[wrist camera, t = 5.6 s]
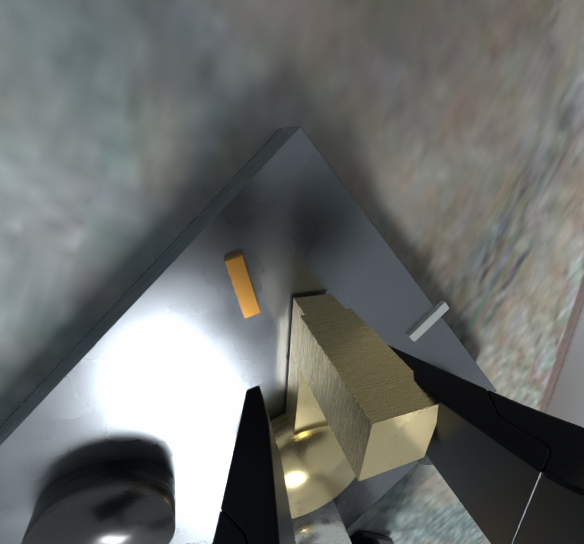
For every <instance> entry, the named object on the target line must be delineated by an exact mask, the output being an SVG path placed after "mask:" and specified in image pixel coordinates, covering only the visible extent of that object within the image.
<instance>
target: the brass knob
mask: <svg viewBox="0 0 584 544" xmlns="http://www.w3.org/2000/svg"><path fill="white" fill-rule="evenodd" d="M413 378H414V372H413V371H412V370H411V369H410V367H409V366H408V365H407V364H406V363H405V362H404V361H403V360H402V359H401V358H400V357H399V356H398V355H397V354H396V353H395V352H394V351H393V350H392V349H391V348H390V347H389V346H388V345H387V344H386V343H385V342H384V341H383V340H382V339H381V338H380V337H379V336H378V335H377V334H376V333H375V332H374V331H373V330H372V329H371V328H370V327H369V326H368V325H367V324H366V323H365V322H364V321H363V320H362V319H361V318H360V317H359V316H358V315H357V314H356V313H355V312H354V311H353V310H352V309H351V308H349V309H346V308H345V307H344V306H343V305H342V304H341V303H340V302H339V301H338V300H337V299H336V298H335V297H334V296H333V295H332V294H323V295H315V296H307V297H299V298H293V312H292V327H291V341H290V356H289V371H288V385H287V400H286V413H285V414H283V415H281V416H279V417H277V418H275V419H274V420H272V421H271V425H272V428H273V432H274V435H275V438H276V442H277V445H278V449H279V452H280V456H281V461H282V466H283V472H284V477H285V483H286V489H287V495H288V501H289V506H290V512H291V518H292V519H293V518H297V517H300V516H303V515H305V514H308V513H310V512H312V511H314V510H316V509H318V508H320V507H322V506H323V505H325V504H326V503H328V502H329V501H331V500H332V499H334V498H335V497H336V496H338V495H339V494H340V493H341V492H342V491H343V490H344V489H345V488H346V487H347V486H348V485H349V484H350V483H351V482H352V481H353V479H354V478H355V477H356V478H357V480H358V481H361V480H364V479H367V478H369V477H372V476H375V475H378V474H380V473H383V472H386V471H388V470H391V469H394V468H396V467H399V466H402V465H405V464H407V463H410V462H413V461H415V460H418V459H421V458H424V456H425V453H426V450H427V448H428V445H429V442H430V439H431V437H432V434H433V431H434V429H435V426H436V422H437V413H438V405H439V404H438V403H437V402H436V401H434V400H433V399H432V398H431V397H430V396H429V395H428V394H427V393H426V392H424V391H423V390H422V389H421V388H420V387H419V386H418V385H417V383H416V382H415V381H414V379H413Z"/></svg>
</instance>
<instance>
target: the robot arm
mask: <svg viewBox="0 0 584 544" xmlns="http://www.w3.org/2000/svg"><path fill="white" fill-rule="evenodd" d="M388 346H389V345H388ZM389 347H390V348H391V349H392V350H393V351H394V352H395V353H396V354H397V355H398V356H399V357H400V358H401V359H402V360H403V361H404V362H405V363H406V364H407V365H408V366H409V367H410V369H411V370H412V371H413V372H414V378H413V379H414V381H415V382H416V383H417V385H418V386H419V387H420V388H421V389H422V390H423V391H424V392H426V393H427V394H428V395H429V396H430V397H431V398H432V399H433V400H434V401H436V402H437V403H438V404H439V405H438V413H437V422H436V426H435V429H434V431H433V434H432V437H431V439H430V442H429V445H428V448H427V450H426V453H425V454H426V455H427V457H428V458H429V459H430V461H431V462H432V463H433V465H434V466H435V467H436V469H437V470H438V472H439V473H440V474H441V476H442V477H443V478H444V480H445V481H446V483H447V484H448V485H449V487H450V488H451V489H452V491H453V492H454V494H455V495H456V496H457V498H458V499H459V500H460V502H461V503H462V504H463V506H464V507H465V509H466V510H467V511H468V513H469V514H470V515H471V517H472V518H473V520H474V521H475V522H476V524H477V525H478V526H479V528H480V529H481V531H482V532H483V533H484V535H485V536H486V537H487V538H488V540H489V541H490V543H491V544H584V428H583V427H581V426H577V425H575V424H572V423H570V422H567V421H564V420H562V419H559V418H556V417H553V416H551V415H548V414H545V413H543V412H540V411H538V410H535V409H533V408H530V407H527V406H525V405H522V404H520V403H518V402H515V401H513V400H511V399H508V398H506V397H504V396H501V395H499V394H497V393H495V392H492V391H490V390H488V391H487V390H486V389H485V388H483V387H481V386H479V385H476V384H474V383H472V382H470V381H467V380H465V379H463V378H461V377H459V376H456V375H454V374H452V373H450V372H447V371H445V370H443V369H441V368H438V367H436V366H434V365H432V364H429V363H427V362H425V361H423V360H421V359H418V358H416V357H414V356H412V355H409V354H407V353H405V352H403V351H400V350H398V349H396V348H394V347H391V346H389ZM221 510H222V511H220V513H219V517H218V522H217V526H216V531H215V535H214V539H213V543H212V544H296V541H295V535H294V530H293V524H292V518H291V512H290V506H289V501H288V495H287V489H286V483H285V477H284V472H283V466H282V461H281V456H280V452H279V449H278V445H277V442H276V438H275V435H274V432H273V428H272V425H271V421H270V418H269V415H268V411H267V408H266V404H265V401H264V398H263V395H262V392H261V388H260V386H255V387H252V388H250V389H248V390H247V391H246V395H245V399H244V404H243V408H242V413H241V417H240V422H239V427H238V431H237V436H236V440H235V445H234V449H233V454H232V458H231V463H230V468H229V472H228V477H227V481H226V486H225V490H224V495H223V499H222V504H221ZM350 540H351V543H352V544H394V542H393V541H392V539H391V538H390V537H386V536H382V535H377V534H373V533H368V532H364V531H361V532H359V533H357V534H356V535H355V536H354V537H353V538H351V539H350Z"/></svg>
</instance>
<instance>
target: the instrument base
mask: <svg viewBox="0 0 584 544" xmlns="http://www.w3.org/2000/svg"><path fill="white" fill-rule="evenodd" d="M323 294H332V295H333V296H334V297H335V298H336V299H337V300H338V301H339V302H340V303H341V304H342V305H343V306H344V307H345V308H346V309H349V308H351V309H352V310H353V311H354V312H355V313H356V314H357V315H358V316H359V317H360V318H361V319H362V320H363V321H364V322H365V323H366V324H367V325H368V326H369V327H370V328H371V329H372V330H373V331H374V332H375V333H376V334H377V335H378V336H379V337H380V338H381V339H382V340H383V341H384V342H385V343H386V344H387V345H389V346H391V347H394V348H396V349H398V350H400V351H403V352H405V353H407V354H409V355H412V356H414V357H416V358H418V359H421V360H423V361H425V362H427V363H429V364H432V365H434V366H436V367H438V368H441V369H443V370H445V371H447V372H450V373H452V374H454V375H456V376H459V377H461V378H463V379H465V380H467V381H470V382H472V383H474V384H476V385H479V386H481V387H483V388H485V389H486V390H487V391H488V390H490V391H492V392H496V389H495V388H494V387H493V385H492V384H491V383H490V381H489V380H488V379H487V377H486V376H485V374H484V373H483V372H482V370H481V369H480V368H479V366H478V365H477V364H476V362H475V361H474V360H473V358H472V357H471V356H470V354H469V353H468V352H467V350H466V349H465V348H464V346H463V345H462V344H461V342H460V341H459V340H458V338H457V337H456V335H455V334H454V333H453V331H452V330H451V329H450V327H449V326H448V325H447V323H446V322H445V321H444V319H443V318H442V317H441V316H442V315H443V314H444V313H445V312H446V311H447V310H448V309H450V308H449V307H448V306H447V304H446V303H445V302H444V301H441V302H440V303H439V304H438V305H436V306H435V307H434V306H433V305H432V303H431V302H430V301H429V299H428V298H427V297H426V295H425V294H424V292H423V291H422V290H421V288H420V287H419V286H418V284H417V283H416V282H415V280H414V279H413V278H412V276H411V275H410V274H409V272H408V271H407V270H406V268H405V267H404V266H403V264H402V263H401V262H400V260H399V259H398V258H397V256H396V255H395V253H394V252H393V251H392V249H391V248H390V247H389V245H388V244H387V243H386V241H385V240H384V239H383V237H382V236H381V235H380V233H379V232H378V231H377V229H376V228H375V227H374V225H373V224H372V223H371V221H370V220H369V219H368V217H367V216H366V214H365V213H364V212H363V210H362V209H361V208H360V206H359V205H358V204H357V202H356V201H355V200H354V198H353V197H352V196H351V194H350V193H349V192H348V190H347V189H346V188H345V186H344V185H343V184H342V182H341V181H340V180H339V178H338V177H337V176H336V174H335V173H334V171H333V170H332V169H331V167H330V166H329V165H328V163H327V162H326V161H325V159H324V158H323V157H322V155H321V154H320V153H319V151H318V150H317V149H316V147H315V146H314V145H313V143H312V142H311V141H310V139H309V138H308V137H307V135H306V134H305V132H304V131H303V130H302V128H301V127H290V128H280V129H279V130H278V131H277V132H276V133H275V134H274V135H273V137H272V138H271V139H270V140H269V141H268V142H267V143H266V144H265V145H264V146H263V147H262V148H261V149H260V150H259V152H258V153H257V154H256V155H255V156H254V157H253V158H252V159H251V160H250V161H249V162H248V163H247V164H246V165H245V166H244V168H243V169H242V170H241V171H240V172H239V173H238V174H237V175H236V176H235V177H234V178H233V179H232V180H231V181H230V182H229V184H228V185H227V186H226V187H225V188H224V189H223V190H222V191H221V192H220V193H219V194H218V195H217V196H216V197H215V198H214V200H213V201H212V202H211V203H210V204H209V205H208V206H207V207H206V208H205V209H204V210H203V211H202V212H201V213H200V215H199V216H198V217H197V218H196V219H195V220H194V221H193V222H192V223H191V224H190V225H189V226H188V227H187V228H186V229H185V231H184V232H183V233H182V234H181V235H180V236H179V237H178V238H177V239H176V240H175V241H174V242H173V243H172V244H171V245H170V247H169V248H168V249H167V250H166V251H165V252H164V253H163V254H162V255H161V256H160V257H159V258H158V259H157V260H156V261H155V263H154V264H153V265H152V266H151V267H150V268H149V269H148V270H147V271H146V272H145V273H144V274H143V275H142V276H141V277H140V279H139V280H138V281H137V282H136V283H135V284H134V285H133V286H132V287H131V288H130V289H129V290H128V291H127V292H126V294H125V295H124V296H123V297H122V298H121V299H120V300H119V301H118V302H117V303H116V304H115V305H114V306H113V307H112V308H111V310H110V311H109V312H108V313H107V314H106V315H105V316H104V317H103V318H102V319H101V320H100V321H99V322H98V323H97V324H96V326H95V327H94V328H93V329H92V330H91V331H90V332H89V333H88V334H87V335H86V336H85V337H84V338H83V339H82V340H81V342H80V343H79V344H78V345H77V346H76V347H75V348H74V349H73V350H72V351H71V352H70V353H69V354H68V355H67V357H66V358H65V359H64V360H63V361H62V362H61V363H60V364H59V365H58V366H57V367H56V368H55V369H54V370H53V371H52V373H51V374H50V375H49V376H48V377H47V378H46V379H45V380H44V381H43V382H42V383H41V384H40V385H39V386H38V387H37V389H36V390H35V391H34V392H33V393H32V394H31V395H30V396H29V397H28V398H27V399H26V400H25V401H24V402H23V403H22V405H21V406H20V407H19V408H18V409H17V410H16V411H15V412H14V413H13V414H12V415H11V416H10V417H9V418H8V420H7V421H6V422H5V423H4V424H3V425H2V426H1V427H0V544H212V543H213V539H214V535H215V531H216V526H217V522H218V517H219V513H220V511H222V510H221V504H222V499H223V495H224V490H225V486H226V481H227V477H228V472H229V468H230V463H231V458H232V454H233V449H234V445H235V440H236V436H237V431H238V427H239V422H240V417H241V413H242V408H243V404H244V399H245V395H246V391H247V390H248V389H250V388H252V387H255V386H260V388H261V392H262V395H263V398H264V401H265V404H266V408H267V411H268V415H269V418H270V421H272V420H274V419H275V418H277V417H279V416H281V415H283V414H285V413H286V400H287V385H288V371H289V356H290V341H291V327H292V312H293V298H299V297H307V296H315V295H323ZM418 463H421V464H424V465H432V464H433V463H432V462H431V461H430V459H429V458H428V457H427V455H426V454H425V456H424V458H421V459H418V460H415V461H413V462H410V463H407V464H405V465H402V466H399V467H396V468H394V469H391V470H388V471H386V472H383V473H380V474H378V475H375V476H372V477H369V478H367V479H364V480H361V481H358V480H357V478H356V477H355V478H354V479H353V481H352V482H351V483H350V484H349V485H348V486H347V487H346V488H345V489H344V490H343V491H342V492H341V493H340V494H339V495H338V496H336V497H335V498H334V499H332V500H331V501H329V502H328V503H326V504H325V505H323V506H322V507H320V508H318V509H316V510H314V511H312V512H310V513H308V514H305V515H303V516H300V517H297V518H293V519H292V524H293V530H294V535H295V541H296V544H352V543H351V540H350V538H349V536H348V533H347V531H346V529H347V528H348V527H349V526H350V525H352V524H353V523H354V522H355V521H356V520H357V519H358V518H359V517H360V516H361V515H362V514H363V513H365V512H366V511H367V510H368V509H369V508H370V507H371V506H372V505H373V504H374V503H375V502H376V501H378V500H379V499H380V498H381V497H382V496H383V495H384V494H385V493H386V492H387V491H388V490H390V489H391V488H392V487H393V486H394V485H395V484H396V483H397V482H398V481H399V480H400V479H401V478H403V477H404V476H405V475H406V474H407V473H408V472H409V471H410V470H411V469H412V468H413V467H414V466H416V465H417V464H418Z"/></svg>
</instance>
